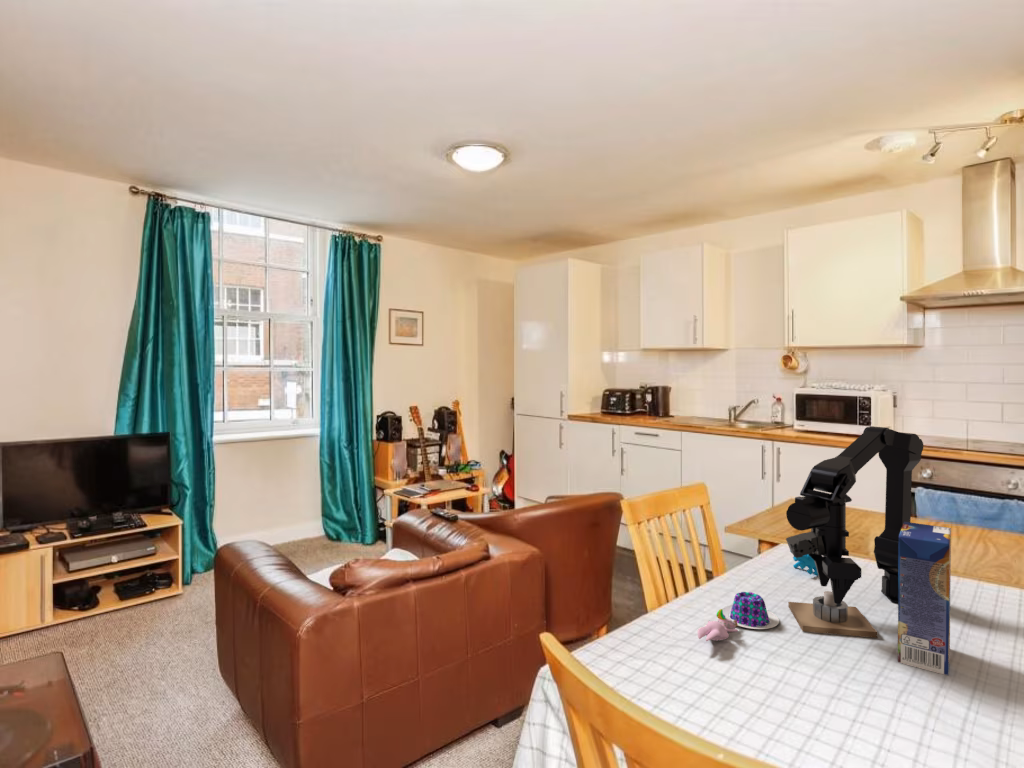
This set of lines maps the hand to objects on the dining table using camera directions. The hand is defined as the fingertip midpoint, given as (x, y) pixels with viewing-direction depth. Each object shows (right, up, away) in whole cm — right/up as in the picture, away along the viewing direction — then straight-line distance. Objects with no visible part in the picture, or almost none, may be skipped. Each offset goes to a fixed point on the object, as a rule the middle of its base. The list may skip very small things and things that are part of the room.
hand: (830, 594), depth 121 cm
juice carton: (+10, -7, -14) cm, 18 cm away
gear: (+11, -5, +29) cm, 31 cm away
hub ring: (0, -5, 0) cm, 5 cm away
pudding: (-17, -7, +3) cm, 18 cm away
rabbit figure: (-27, -7, -6) cm, 28 cm away
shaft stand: (0, -6, 0) cm, 6 cm away
